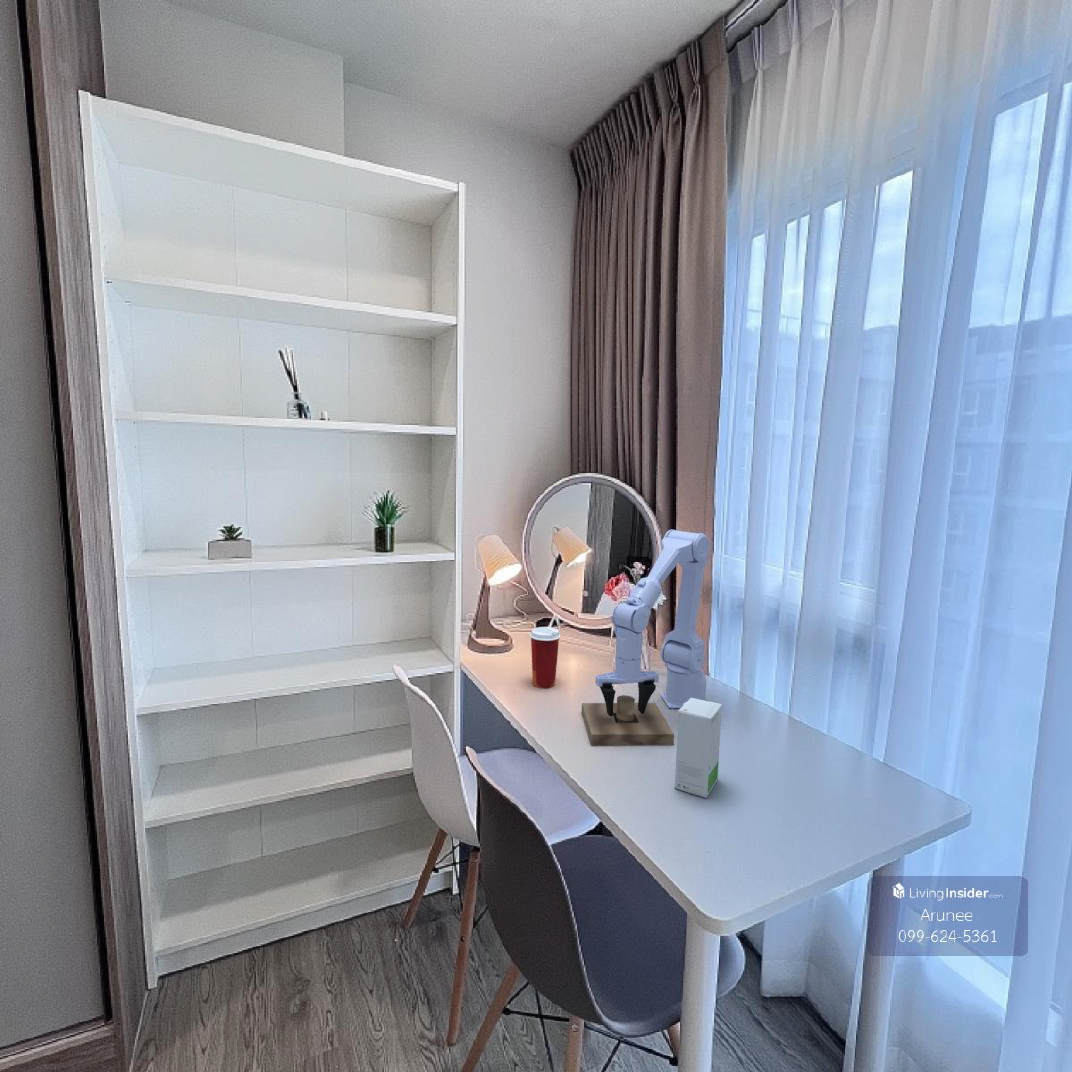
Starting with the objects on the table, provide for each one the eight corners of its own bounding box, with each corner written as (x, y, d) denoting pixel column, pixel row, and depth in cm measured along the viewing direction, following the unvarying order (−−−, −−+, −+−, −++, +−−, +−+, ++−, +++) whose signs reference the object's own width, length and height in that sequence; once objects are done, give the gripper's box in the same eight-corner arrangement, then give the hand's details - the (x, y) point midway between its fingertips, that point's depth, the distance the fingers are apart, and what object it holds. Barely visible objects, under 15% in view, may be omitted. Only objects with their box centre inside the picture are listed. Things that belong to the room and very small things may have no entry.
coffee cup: (565, 684, 161) (566, 630, 159) (544, 692, 155) (546, 637, 153) (542, 675, 166) (543, 624, 164) (522, 683, 160) (523, 630, 158)
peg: (629, 723, 138) (631, 694, 138) (636, 731, 134) (637, 702, 134) (612, 724, 138) (614, 695, 137) (618, 732, 134) (620, 703, 133)
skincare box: (706, 799, 108) (711, 719, 106) (671, 788, 112) (676, 710, 110) (718, 778, 116) (724, 703, 113) (685, 768, 119) (690, 695, 117)
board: (654, 712, 144) (655, 702, 144) (673, 744, 129) (674, 734, 128) (581, 712, 143) (581, 703, 143) (591, 745, 127) (591, 734, 127)
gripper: (651, 648, 139) (648, 703, 141) (592, 652, 136) (590, 708, 138) (663, 659, 132) (660, 716, 134) (602, 662, 129) (599, 721, 131)
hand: (625, 713), depth 135 cm, fingers open, 7 cm apart
